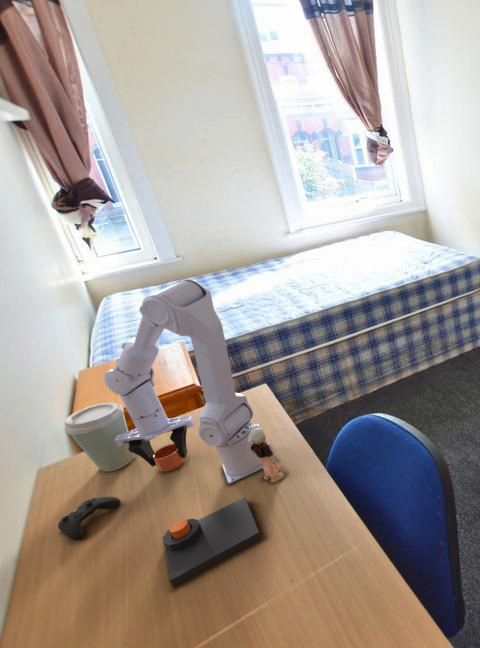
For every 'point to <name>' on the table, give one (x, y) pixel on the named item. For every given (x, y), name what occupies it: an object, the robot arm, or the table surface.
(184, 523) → the tare button
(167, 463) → the dish
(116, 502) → the game controller
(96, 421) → the disposable coffee cup
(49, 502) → the table surface
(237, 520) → the grey push button box
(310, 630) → the table surface
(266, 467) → the grandmother figurine
